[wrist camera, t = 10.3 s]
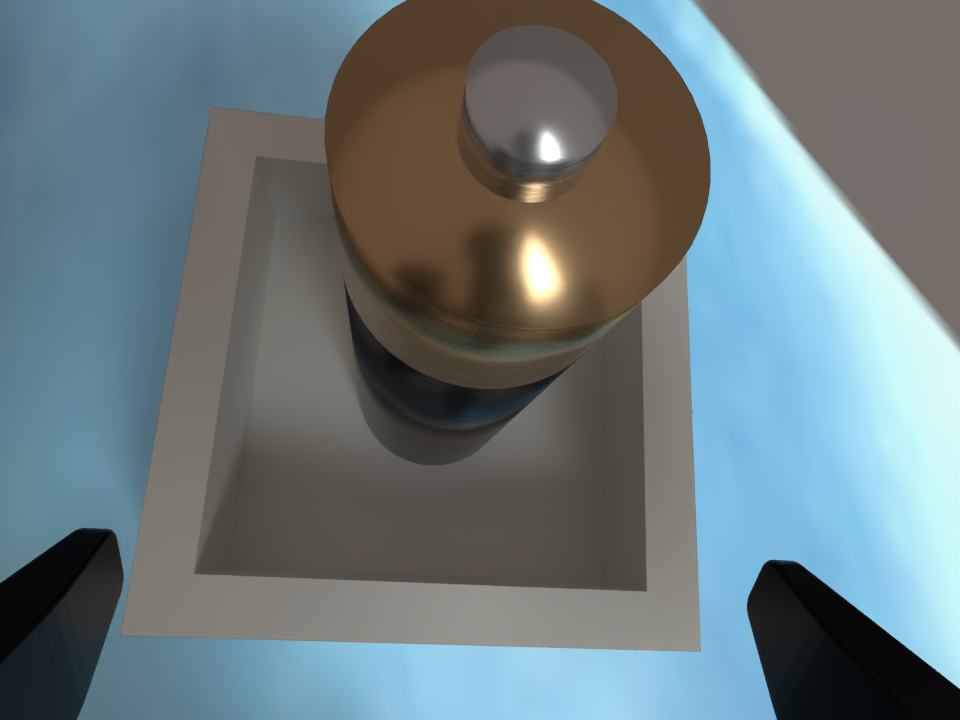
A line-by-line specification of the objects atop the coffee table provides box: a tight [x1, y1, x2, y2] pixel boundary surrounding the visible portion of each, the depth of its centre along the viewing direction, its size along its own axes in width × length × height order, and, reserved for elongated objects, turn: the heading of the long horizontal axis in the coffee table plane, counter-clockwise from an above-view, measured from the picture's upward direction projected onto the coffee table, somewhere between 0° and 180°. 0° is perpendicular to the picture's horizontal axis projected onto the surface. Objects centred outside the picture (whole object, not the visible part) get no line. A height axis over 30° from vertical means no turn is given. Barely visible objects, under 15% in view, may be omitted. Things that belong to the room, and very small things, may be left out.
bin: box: [121, 107, 701, 652], centre depth 17 cm, size 12×12×4 cm
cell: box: [324, 0, 710, 465], centre depth 12 cm, size 4×4×13 cm
